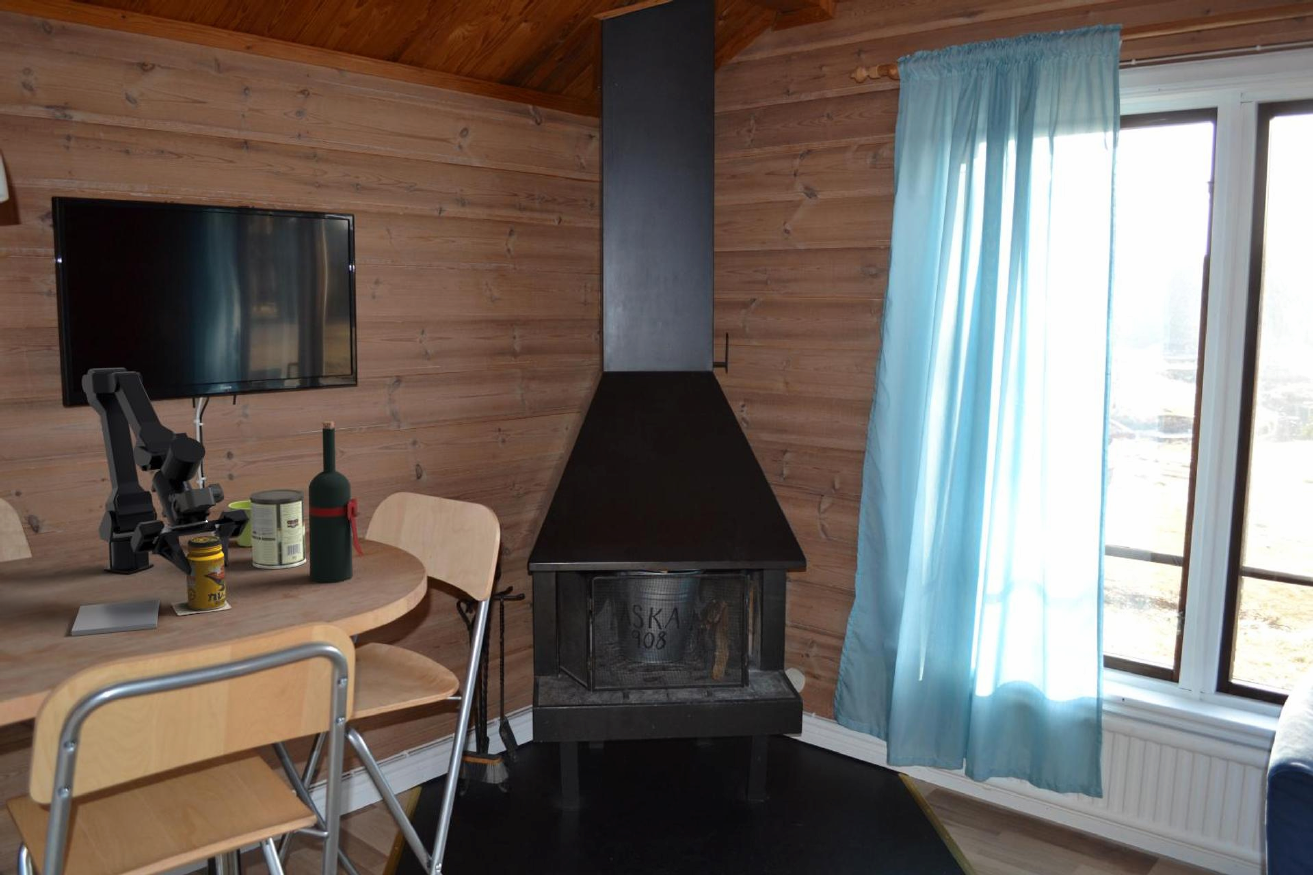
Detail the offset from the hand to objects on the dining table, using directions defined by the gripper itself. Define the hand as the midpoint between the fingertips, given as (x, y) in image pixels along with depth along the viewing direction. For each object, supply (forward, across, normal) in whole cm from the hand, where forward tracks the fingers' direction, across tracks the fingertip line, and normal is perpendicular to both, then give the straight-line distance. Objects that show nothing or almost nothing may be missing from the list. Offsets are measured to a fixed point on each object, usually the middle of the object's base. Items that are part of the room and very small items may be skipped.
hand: (208, 570), depth 180 cm
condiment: (+4, -1, +6) cm, 7 cm away
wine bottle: (+3, +26, +7) cm, 27 cm away
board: (+2, -14, +8) cm, 16 cm away
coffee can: (-9, +23, +19) cm, 31 cm away
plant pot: (-22, +27, +32) cm, 47 cm away
